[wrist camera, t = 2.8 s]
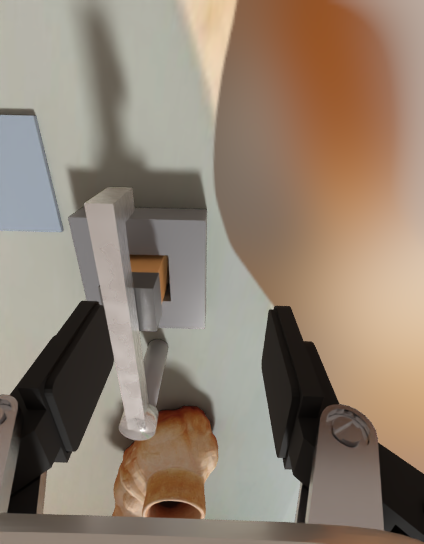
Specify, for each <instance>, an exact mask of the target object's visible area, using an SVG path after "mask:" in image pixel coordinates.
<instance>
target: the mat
mask: <svg viewBox="0 0 424 544" xmlns="http://www.w3.org/2000/svg"><path fill="white" fill-rule="evenodd" d="M0 231H37V232H62V231H64V230H63V226H62V222H61V218H60V214H59V209H58V205H57V201H56V197H55V193H54V189H53V185H52V180H51V176H50V172H49V168H48V164H47V160H46V155H45V151H44V147H43V143H42V139H41V135H40V130H39V126H38V122H37V118H36V116H28V115H0Z"/></svg>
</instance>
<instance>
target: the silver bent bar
mask: <svg viewBox="0 0 424 544" xmlns="http://www.w3.org/2000/svg"><path fill="white" fill-rule="evenodd" d="M84 207H85V212H86V217H87V222H88V227H89V232H90V237H91V242H92V248H93V253H94V258H95V263H96V268H97V273H98V278H99V283H100V288H101V294H102V299H103V304H104V309H105V314H106V319H107V324H108V329H109V335H110V340H111V345H112V350H113V355H114V360H115V365H116V370H117V375H118V381H119V386H120V391H121V396H122V401H123V406H124V412H123V415H122V418H121V421H120V424H119V431H120V432H121V434H122V435H124V436H125V437H127V438H129V439H132V440H138V441H142V440H147V439H150V438H152V437H153V436H154V434H155V431H156V426H157V421H158V416H159V413H158V410H157V409H156V408H155V407H154V406H153V405H151V404H149V402H148V394H147V386H146V379H145V371H144V363H143V356H142V348H141V340H140V333H139V325H138V317H137V310H136V302H135V294H134V287H133V279H132V271H131V264H130V256H129V248H128V241H127V233H126V225H125V222H126V221H127V220H128V219H129V217H130V216H131V215H132V214H133V213H134V211H135V207H134V198H133V189H132V187H107V188H106V189H104V190H103V191H101V192H100V193H98V194H97V195H95V196H94V197H92V198H91V199H89V200H88V201H86V202H85V203H84Z"/></svg>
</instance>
